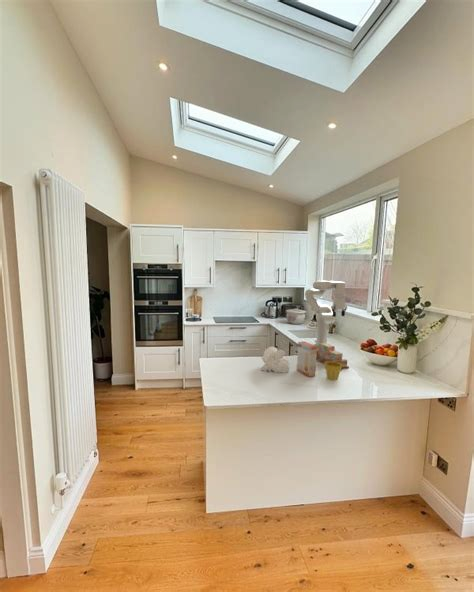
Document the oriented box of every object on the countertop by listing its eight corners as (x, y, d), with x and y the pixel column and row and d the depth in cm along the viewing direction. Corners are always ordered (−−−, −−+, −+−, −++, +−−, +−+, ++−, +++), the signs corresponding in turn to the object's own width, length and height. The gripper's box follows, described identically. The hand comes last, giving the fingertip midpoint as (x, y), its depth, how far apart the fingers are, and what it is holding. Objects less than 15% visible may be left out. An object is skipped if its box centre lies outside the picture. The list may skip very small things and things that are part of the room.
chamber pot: (306, 326, 375) (307, 309, 373) (284, 324, 379) (285, 308, 377) (305, 322, 402) (306, 307, 400) (285, 321, 407) (285, 306, 405)
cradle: (310, 357, 238) (310, 350, 238) (321, 356, 243) (322, 349, 243) (336, 370, 211) (336, 361, 210) (348, 368, 216) (349, 359, 215)
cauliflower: (299, 360, 201) (276, 346, 196) (284, 386, 199) (260, 372, 195) (288, 354, 219) (267, 341, 215) (274, 377, 217) (252, 364, 213)
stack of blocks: (341, 365, 217) (342, 349, 216) (335, 366, 215) (336, 350, 214) (323, 357, 237) (324, 342, 236) (317, 357, 235) (318, 342, 234)
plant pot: (338, 382, 187) (339, 367, 186) (322, 379, 193) (323, 364, 192) (342, 377, 196) (343, 363, 195) (326, 374, 202) (327, 360, 201)
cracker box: (315, 376, 198) (317, 345, 196) (308, 377, 195) (310, 346, 193) (303, 369, 210) (304, 340, 208) (296, 370, 208) (297, 341, 206)
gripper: (344, 295, 257) (343, 315, 258) (328, 296, 250) (327, 316, 251) (350, 296, 250) (349, 316, 251) (334, 297, 243) (333, 317, 244)
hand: (338, 316), depth 251 cm, fingers open, 9 cm apart
